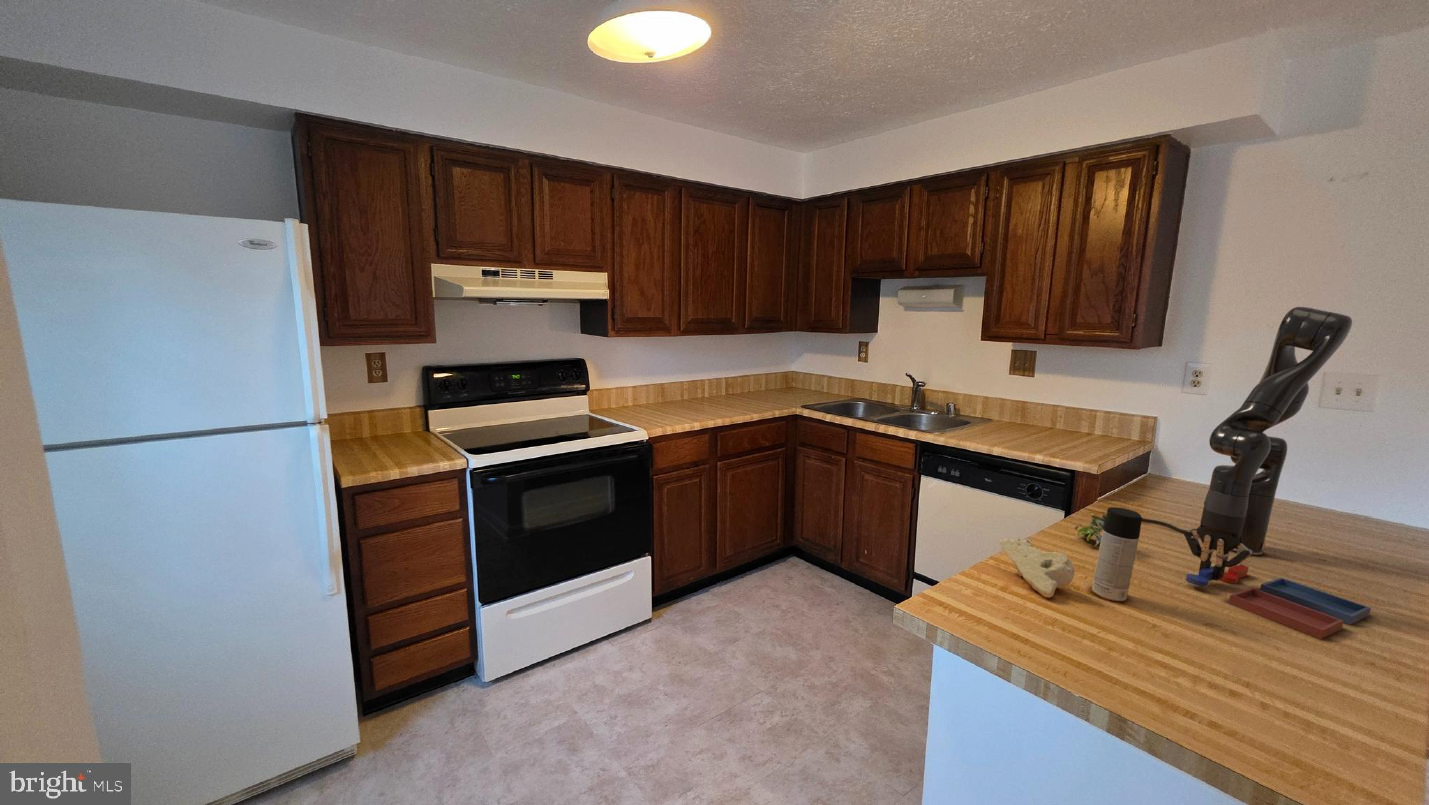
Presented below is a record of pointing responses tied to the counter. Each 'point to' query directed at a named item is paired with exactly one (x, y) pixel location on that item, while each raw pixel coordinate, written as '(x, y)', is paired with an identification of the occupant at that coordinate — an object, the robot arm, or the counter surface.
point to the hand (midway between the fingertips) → (1209, 577)
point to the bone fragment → (1039, 566)
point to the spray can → (1117, 554)
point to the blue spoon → (1201, 577)
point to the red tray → (1286, 612)
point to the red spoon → (1235, 573)
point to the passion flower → (1090, 530)
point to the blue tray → (1316, 600)
